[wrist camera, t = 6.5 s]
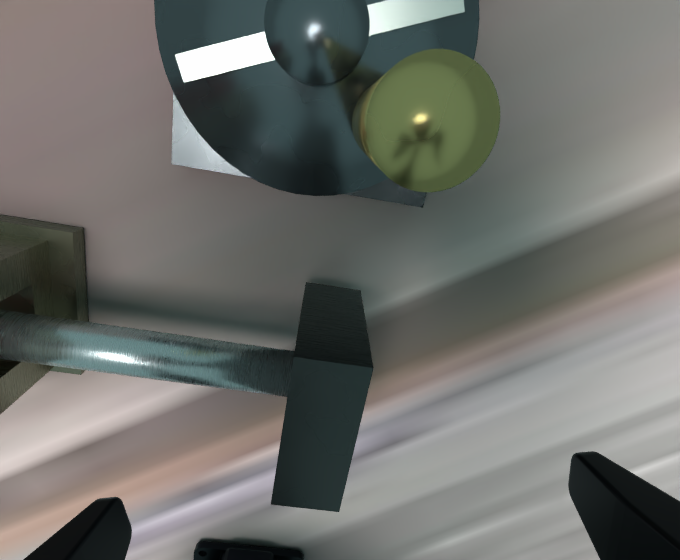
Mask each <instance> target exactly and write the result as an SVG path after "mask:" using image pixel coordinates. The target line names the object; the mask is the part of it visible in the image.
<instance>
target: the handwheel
mask: <svg viewBox="0 0 680 560" xmlns="http://www.w3.org/2000/svg"><path fill="white" fill-rule="evenodd" d="M154 5H155V26H156V32H157V38H158V44H159V50H160V54H161V57H162V61H163V65H164V68H165V72H166V75H167V77H168V80H169V82H170V85H171V87H172V90H173V92H174V95H175V96H176V98H177V100H178V102H179V104H180V106H181V108H182V109H183V111H184V113H185V115H186V116H187V118H188V119H189V121H190V122H191V123H192V125H193V126H194V128H195V129H196V131H197V132H198V133H199V134H200V136H201V137H202V138H203V139H204V140H205V141H206V142H207V143H208V145H209V146H210V147H211V148H212V149H213V150H214V151H215V152H216V153H218V154H219V155H220V156H221V157H222V158H223V159H224V160H225V161H226V162H228V163H229V164H231V165H232V166H233V167H235V168H236V169H238V170H239V171H241V172H242V173H243V174H245V175H247V176H249V177H251V178H253V179H255V180H257V181H258V182H260V183H263V184H265V185H268V186H271V187H273V188H276V189H279V190H283V191H287V192H291V193H295V194H303V195H313V196H325V195H338V194H345V193H351V192H355V191H358V190H361V189H365V188H368V187H371V186H373V185H375V184H378V183H380V182H382V181H384V180H386V179H388V178H389V179H391V180H392V181H393V182H395V183H396V184H398V185H400V186H402V187H404V188H407V189H409V190H413V191H418V192H437V191H442V190H446V189H449V188H452V187H454V186H456V185H458V184H460V183H462V182H464V181H465V180H467V179H468V178H469V177H470V176H472V175H473V174H474V173H475V172H476V171H477V170H478V169H479V168H480V167H481V166H482V164H483V163H484V162H485V160H486V159H487V157H488V156H489V154H490V152H491V150H492V148H493V146H494V144H495V141H496V138H497V134H498V130H499V123H500V106H499V99H498V96H497V92H496V89H495V87H494V84H493V82H492V80H491V79H490V77H489V75H488V74H487V73H486V71H485V70H484V69H483V68H482V67H481V66H480V65H479V64H478V63H477V62H476V61H474V56H475V51H476V46H477V39H478V27H479V0H154Z"/></svg>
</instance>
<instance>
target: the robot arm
mask: <svg viewBox="0 0 680 560" xmlns="http://www.w3.org/2000/svg"><path fill="white" fill-rule="evenodd" d="M568 487H569V493H570V496H571V498H572V501H573V503H574V505H575V507H576V509H577V511H578V513H579V515H580V518H581V520H582V522H583V524H584V526H585V528H586V530H587V532H588V535H589V537H590V539H591V541H592V543H593V545H594V547H595V549H596V551H597V554H598V556H599V558H600V560H680V501H678V500H677V499H675V498H673V497H672V496H670V495H668V494H667V493H665V492H663V491H662V490H660V489H658V488H657V487H655V486H653V485H651V484H650V483H648V482H646V481H645V480H643V479H641V478H640V477H638V476H636V475H635V474H633V473H631V472H630V471H628V470H626V469H625V468H623V467H621V466H619V465H618V464H616V463H614V462H613V461H611V460H609V459H608V458H606V457H604V456H603V455H601V454H599V453H597V452H593V451H591V452H580V453H575V454H574V455H573V456H572V459H571V466H570V474H569V483H568ZM131 534H132V529H131V524H130V521H129V519H128V516H127V513H126V510H125V508H124V505H123V502H122V500H121V499H120V498H118V497H110V498H100V499H97V500H95V501H94V502H93V503H91V504H90V505H89V506H88V507H87V508H85V509H84V510H83V511H82V512H81V513H79V514H78V515H77V516H76V517H75V518H73V519H72V520H71V521H70V522H68V523H67V524H66V525H65V526H64V527H62V528H61V529H60V530H59V531H58V532H56V533H55V534H54V535H53V536H51V537H50V538H49V539H48V540H47V541H45V542H44V543H43V544H42V545H41V546H39V547H38V548H37V549H36V550H35V551H33V552H32V553H31V554H30V555H28V556H27V557H26V558H25V559H24V560H125V557H126V554H127V550H128V547H129V544H130V540H131ZM194 560H304V555H303V553H302V552H300V551H295V550H286V549H276V548H266V547H256V546H247V545H237V544H227V543H218V542H208V541H201V542H199V543H198V544H197V545H196V548H195V551H194Z"/></svg>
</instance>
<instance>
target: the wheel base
mask: <svg viewBox="0 0 680 560" xmlns="http://www.w3.org/2000/svg"><path fill="white" fill-rule="evenodd" d="M172 164H175V165H181V166H187V167H193V168H198V169H204V170H210V171H216V172H221V173H227V174H233V175H239V176H244V177H249V176H247V175H245V174H243V173H242V172H241V171H239V170H238V169H236V168H235V167H233V166H232V165H231V164H229V163H228V162H226V161H225V160H224V159H223V158H222V157H221V156H220V155H219V154H218V153H216V152H215V151H214V150H213V149H212V148H211V147H210V146H209V145H208V143H207V142H206V141H205V140H204V139H203V138H202V137H201V136H200V134H199V133H198V132H197V131H196V129H195V128H194V126H193V125H192V123H191V122H190V121H189V119H188V118H187V116H186V115H185V113H184V111H183V109H182V108H181V106H180V104H179V102H178V100H177V98H176V96H175V95H174V92H173V130H172ZM250 178H251V177H250ZM426 193H427V192H418V191H413V190H409V189H407V188H404V187H402V186H400V185H398V184H396V183H395V182H393V181H392V180H391V179H389V178H388V179H386V180H384V181H382V182H380V183H378V184H375V185H373V186H371V187H368V188H365V189H361V190H358V191H355V192H351V193H345V194H348V195H354V196H360V197H365V198H371V199H377V200H383V201H388V202H394V203H400V204H406V205H411V206H417V207H423V205H424V201H425V197H426Z"/></svg>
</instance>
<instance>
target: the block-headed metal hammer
mask: <svg viewBox="0 0 680 560" xmlns="http://www.w3.org/2000/svg"><path fill="white" fill-rule="evenodd" d="M0 359H5V360H13V361H20V362H28V363H35V364H43V365H50V366H58V367H65V368H73V369H80V370H88V371H96V372H103V373H111V374H118V375H126V376H133V377H141V378H148V379H156V380H163V381H171V382H178V383H186V384H194V385H201V386H209V387H216V388H224V389H231V390H239V391H246V392H254V393H261V394H269V395H277V396H284V397H287V404H286V410H285V417H284V423H283V429H282V436H281V442H280V449H279V455H278V462H277V468H276V474H275V481H274V487H273V494H272V500H271V504H272V505H281V506H290V507H299V508H308V509H317V510H326V511H335V512H339V510H340V506H341V501H342V497H343V493H344V489H345V485H346V481H347V476H348V472H349V468H350V464H351V460H352V455H353V451H354V447H355V443H356V439H357V434H358V430H359V426H360V422H361V418H362V414H363V409H364V405H365V401H366V397H367V393H368V388H369V384H370V380H371V376H372V372H373V363H372V357H371V351H370V345H369V339H368V333H367V327H366V321H365V315H364V309H363V303H362V297H361V291H360V290H353V289H347V288H340V287H334V286H327V285H321V284H315V283H308V282H306V285H305V291H304V297H303V303H302V309H301V315H300V322H299V328H298V334H297V340H296V346H295V351H290V350H283V349H276V348H269V347H262V346H255V345H247V344H240V343H233V342H226V341H219V340H212V339H205V338H198V337H191V336H184V335H177V334H170V333H163V332H156V331H149V330H142V329H135V328H127V327H120V326H113V325H106V324H99V323H92V322H85V321H78V320H71V319H64V318H57V317H50V316H43V315H36V314H29V313H22V312H14V311H7V310H0Z"/></svg>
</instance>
